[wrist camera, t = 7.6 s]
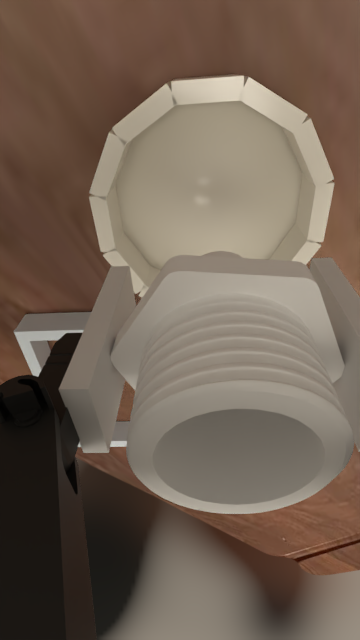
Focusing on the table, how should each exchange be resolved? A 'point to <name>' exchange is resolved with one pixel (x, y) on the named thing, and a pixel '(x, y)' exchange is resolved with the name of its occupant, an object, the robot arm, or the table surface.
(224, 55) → the table surface
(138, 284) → the bowl
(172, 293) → the pipe fitting
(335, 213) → the table surface
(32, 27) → the table surface
